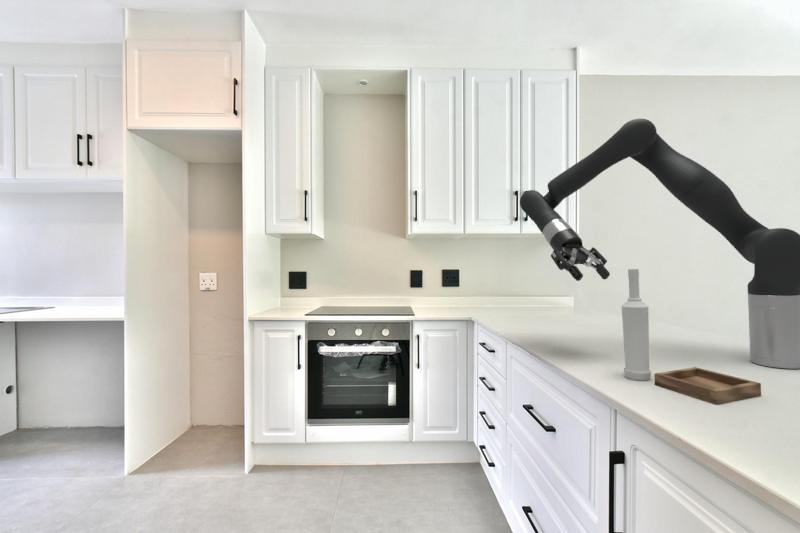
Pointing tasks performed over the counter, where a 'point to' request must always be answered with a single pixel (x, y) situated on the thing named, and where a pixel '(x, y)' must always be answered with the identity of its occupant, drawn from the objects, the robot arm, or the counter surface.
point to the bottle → (636, 332)
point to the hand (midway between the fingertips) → (593, 277)
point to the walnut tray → (708, 385)
